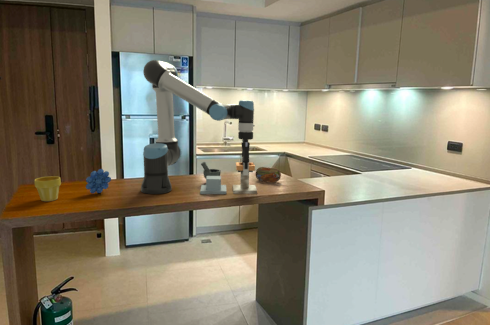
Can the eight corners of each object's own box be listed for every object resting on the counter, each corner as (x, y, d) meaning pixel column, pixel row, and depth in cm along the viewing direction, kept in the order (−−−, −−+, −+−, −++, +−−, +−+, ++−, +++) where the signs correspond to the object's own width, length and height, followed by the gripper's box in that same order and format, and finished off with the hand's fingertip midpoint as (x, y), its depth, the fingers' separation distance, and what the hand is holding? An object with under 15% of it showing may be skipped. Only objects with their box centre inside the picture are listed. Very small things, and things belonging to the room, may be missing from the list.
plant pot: (33, 199, 162) (31, 178, 160) (57, 195, 169) (56, 175, 167) (39, 204, 154) (38, 182, 153) (65, 199, 162) (63, 178, 160)
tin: (255, 180, 209) (255, 166, 207) (257, 179, 211) (257, 165, 210) (279, 183, 202) (280, 169, 201) (281, 182, 205) (281, 168, 204)
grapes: (110, 189, 180) (109, 166, 178) (112, 193, 175) (111, 169, 173) (85, 192, 175) (83, 168, 173) (86, 195, 169) (85, 171, 167)
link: (236, 170, 178) (236, 165, 178) (235, 166, 187) (235, 162, 187) (254, 170, 179) (254, 165, 179) (253, 167, 188) (253, 162, 188)
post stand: (233, 193, 179) (233, 158, 176) (232, 187, 191) (233, 154, 188) (257, 193, 180) (258, 158, 177) (254, 187, 192) (255, 154, 188)
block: (200, 194, 176) (200, 180, 175) (201, 187, 189) (201, 174, 188) (226, 194, 177) (226, 180, 176) (226, 187, 190) (226, 174, 189)
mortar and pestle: (218, 180, 207) (218, 159, 205) (222, 183, 198) (222, 162, 196) (199, 181, 203) (199, 160, 201) (202, 185, 195) (202, 163, 192)
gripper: (255, 133, 168) (254, 177, 172) (251, 129, 192) (250, 167, 196) (239, 133, 167) (238, 177, 171) (237, 129, 192) (236, 167, 196)
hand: (244, 172), depth 184 cm, fingers open, 13 cm apart
